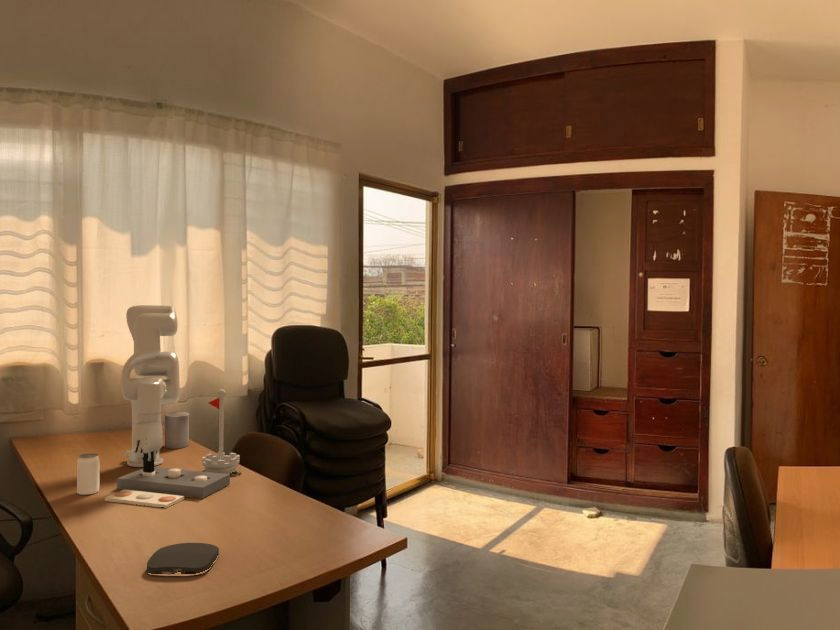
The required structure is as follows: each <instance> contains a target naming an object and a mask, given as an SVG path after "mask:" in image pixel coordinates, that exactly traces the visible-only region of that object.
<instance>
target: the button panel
mask: <svg viewBox="0 0 840 630" xmlns="http://www.w3.org/2000/svg"><path fill="white" fill-rule="evenodd" d="M169 469H173V468H169V467H158V466H154V471H155V475H152V476H143V475H142V472H143V468H140V469H139V470H136V471H133V472H130V473H127V474H125V475H122V476H120V477H117V479H116V489H117V490H134V491H143V492H152V493H161V494H170V495H179V496H184V497H188V498H194V497H195V498H196V499H205V498H207V497H209V496H210V494H211V495H212V494H214V493H216V492H218V491H220V490H222V489H224V488H226V487H227V485H228V486H230V485H231V474H222V473H212V472H205V471H200V470H191V469H182V468H180V469H181V477H180V478H177V479H172V478H168V470H169ZM196 476H207V480H206V481H204V482H201V481H194V478H195V477H196ZM229 484H230V485H229ZM225 486H226V487H225ZM223 487H224V488H223ZM221 488H222V489H221ZM219 489H220V490H219ZM217 490H218V491H217ZM215 491H216V492H215ZM208 495H209V496H208ZM206 496H207V497H206ZM204 497H205V498H204Z"/></svg>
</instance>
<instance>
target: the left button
mask: <svg viewBox="0 0 840 630" xmlns="http://www.w3.org/2000/svg"><path fill="white" fill-rule="evenodd" d="M142 475H143V476H152V475H155V471H154V472H151V473H148V472H142Z"/></svg>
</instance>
